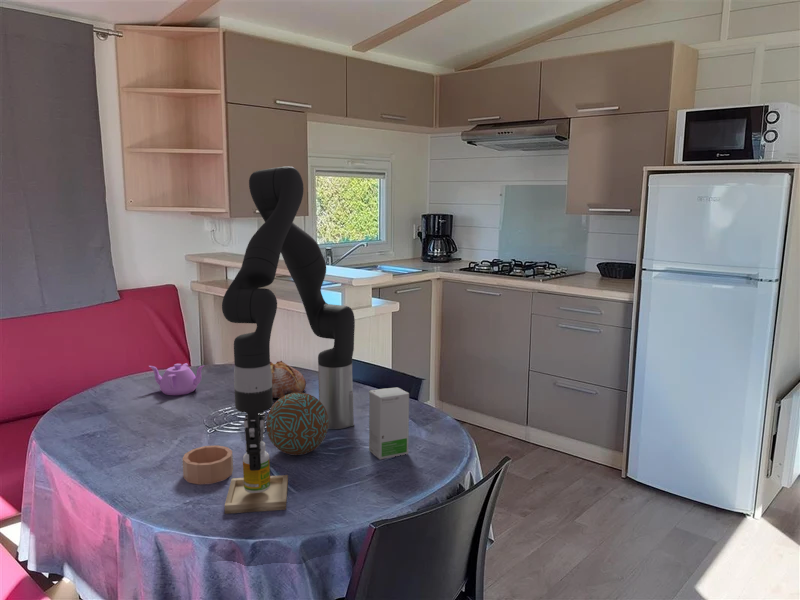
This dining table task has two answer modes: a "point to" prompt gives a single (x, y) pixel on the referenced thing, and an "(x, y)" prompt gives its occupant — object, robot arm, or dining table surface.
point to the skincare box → (388, 422)
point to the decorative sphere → (297, 423)
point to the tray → (257, 496)
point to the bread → (286, 380)
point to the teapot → (178, 379)
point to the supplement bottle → (257, 472)
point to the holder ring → (207, 464)
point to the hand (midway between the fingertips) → (256, 463)
